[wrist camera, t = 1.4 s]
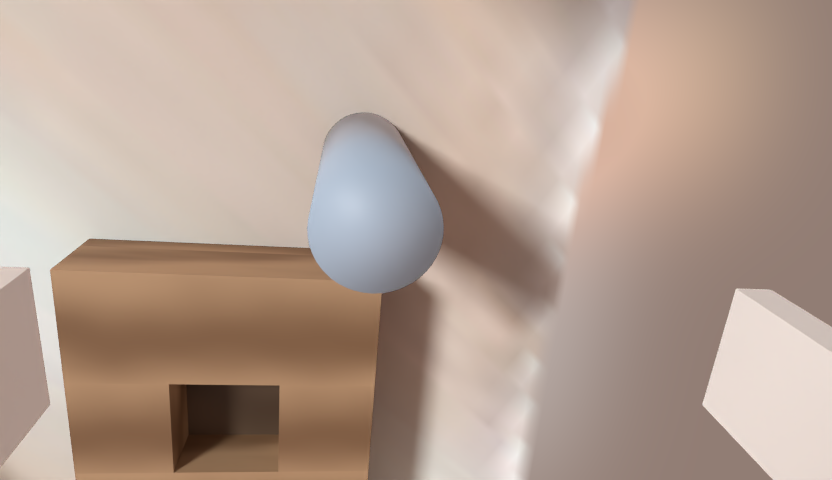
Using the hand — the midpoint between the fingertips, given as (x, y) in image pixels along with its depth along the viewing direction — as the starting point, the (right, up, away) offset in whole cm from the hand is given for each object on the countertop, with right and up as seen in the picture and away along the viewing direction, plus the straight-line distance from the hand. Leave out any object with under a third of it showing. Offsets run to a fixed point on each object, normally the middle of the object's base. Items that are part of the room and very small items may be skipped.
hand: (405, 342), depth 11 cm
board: (-9, -6, +21) cm, 23 cm away
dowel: (-2, +6, +17) cm, 19 cm away
